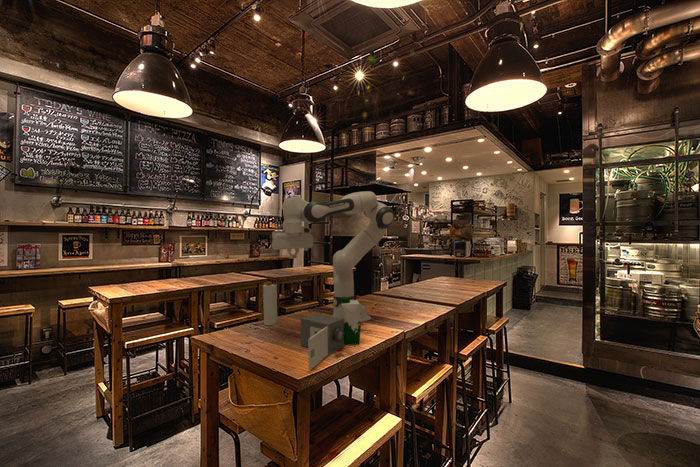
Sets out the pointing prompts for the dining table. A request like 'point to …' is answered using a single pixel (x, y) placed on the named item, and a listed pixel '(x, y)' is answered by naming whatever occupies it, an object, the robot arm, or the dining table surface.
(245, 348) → the dining table surface
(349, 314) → the milk carton
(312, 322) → the box
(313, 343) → the side door
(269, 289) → the paper towel roll
